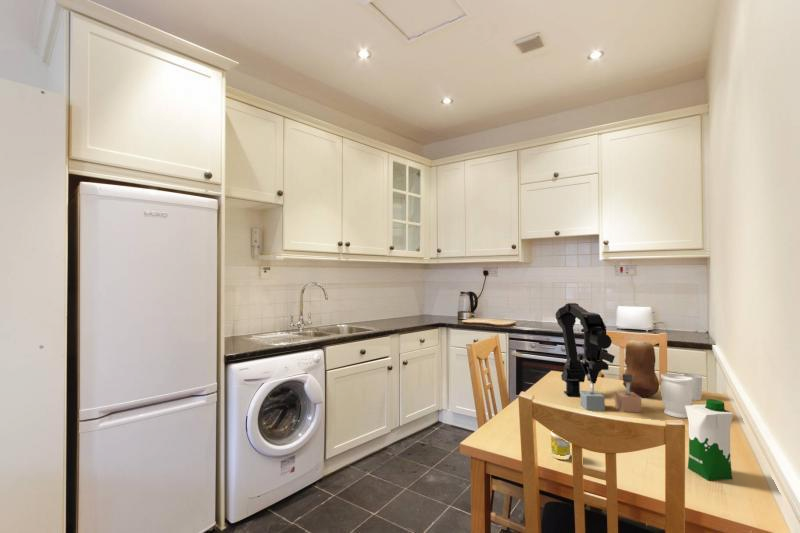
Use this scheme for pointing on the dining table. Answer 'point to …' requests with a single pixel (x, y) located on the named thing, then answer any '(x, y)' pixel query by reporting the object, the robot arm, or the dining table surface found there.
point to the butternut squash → (641, 368)
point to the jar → (676, 394)
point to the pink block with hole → (628, 402)
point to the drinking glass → (696, 386)
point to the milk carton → (710, 440)
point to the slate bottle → (592, 401)
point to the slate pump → (591, 383)
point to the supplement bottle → (559, 446)
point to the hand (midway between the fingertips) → (592, 382)
